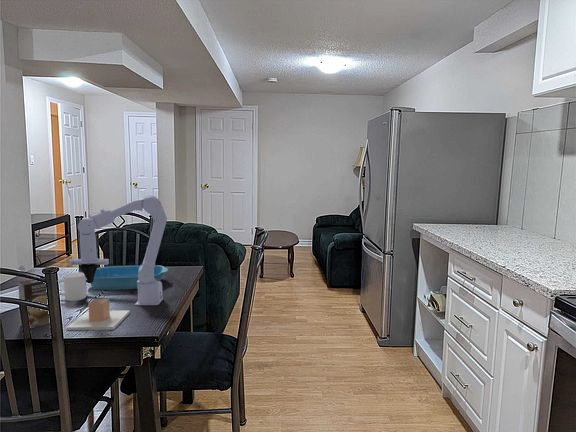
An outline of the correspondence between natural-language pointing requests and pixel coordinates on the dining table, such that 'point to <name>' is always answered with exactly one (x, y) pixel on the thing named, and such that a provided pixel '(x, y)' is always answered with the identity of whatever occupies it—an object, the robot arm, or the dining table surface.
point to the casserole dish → (121, 277)
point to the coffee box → (36, 294)
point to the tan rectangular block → (99, 310)
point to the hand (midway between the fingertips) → (90, 282)
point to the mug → (74, 286)
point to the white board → (99, 322)
